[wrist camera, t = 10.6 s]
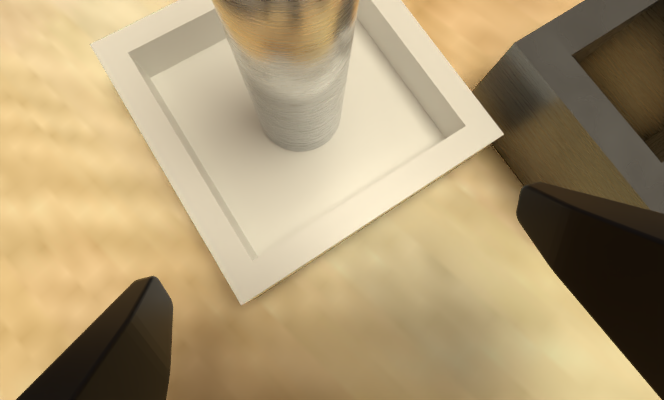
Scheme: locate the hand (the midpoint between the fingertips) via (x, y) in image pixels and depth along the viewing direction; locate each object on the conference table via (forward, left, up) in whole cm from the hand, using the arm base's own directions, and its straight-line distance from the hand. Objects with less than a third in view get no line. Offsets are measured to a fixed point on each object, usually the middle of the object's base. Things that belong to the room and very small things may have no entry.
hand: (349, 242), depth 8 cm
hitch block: (+14, -1, -8) cm, 17 cm away
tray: (+2, +7, -8) cm, 11 cm away
